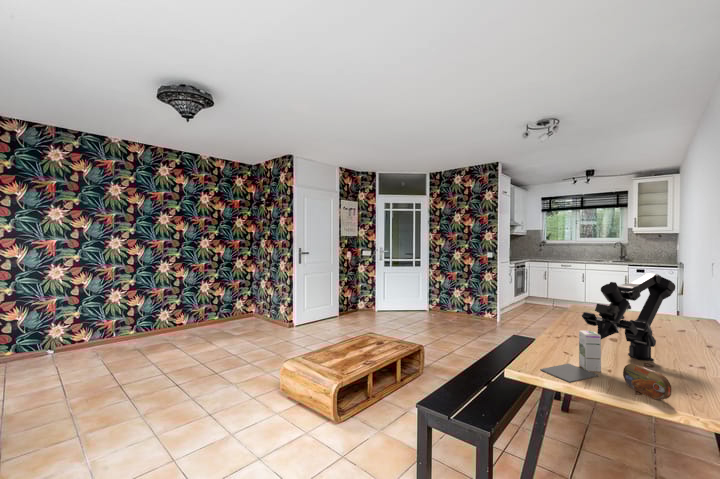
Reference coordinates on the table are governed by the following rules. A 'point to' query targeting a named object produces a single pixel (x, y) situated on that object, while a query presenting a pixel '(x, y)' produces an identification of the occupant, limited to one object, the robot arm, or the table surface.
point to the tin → (647, 381)
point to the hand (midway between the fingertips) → (598, 338)
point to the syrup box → (590, 350)
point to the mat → (569, 372)
